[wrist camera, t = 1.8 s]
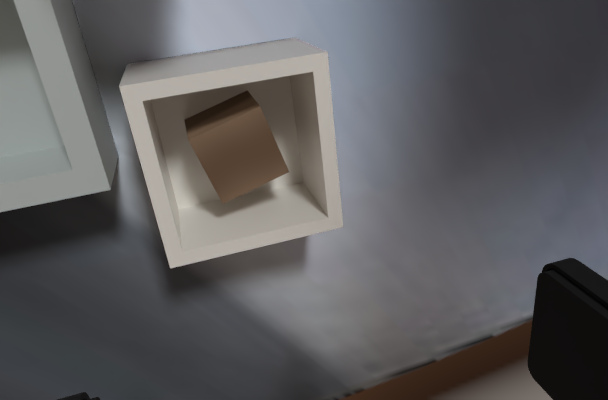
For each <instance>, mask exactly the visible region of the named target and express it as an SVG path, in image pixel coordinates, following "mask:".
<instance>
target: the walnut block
mask: <svg viewBox="0 0 608 400" xmlns="http://www.w3.org/2000/svg"><path fill="white" fill-rule="evenodd" d="M184 121H185V126H186V132H187V137H188V141H189V143H190V145H191V146H192V148H193V150H194V152H195V154H196V156H197V157H198V159H199V161H200V163H201V165H202V167H203V169H204V170H205V172H206V174H207V176H208V178H209V180H210V181H211V183H212V185H213V187H214V189H215V191H216V192H217V194H218V196H219V198H220V200H221V202H222V203H223V204H224V203H226V202H228V201H230V200H232V199H234V198H236V197H239V196H241V195H243V194H245V193H247V192H249V191H251V190H253V189H255V188H257V187H259V186H261V185H263V184H265V183H268V182H270V181H272V180H274V179H276V178H278V177H280V176H282V175H284V174H286V173H288V172H289V170H288V168H287V165H286V163H285V161H284V159H283V156H282V154H281V152H280V150H279V148H278V145H277V143H276V141H275V139H274V136H273V134H272V132H271V130H270V127H269V125H268V123H267V121H266V118H265V116H264V114H263V112H262V109H261V107H260V106H259V104H258V103H257V102H256V100H255V99H254V98H253V97H252V95H251V94H250V93H249V92H248V90H247V91H245V92H243V93H240V94H238V95H236V96H234V97H232V98H230V99H228V100H225V101H223V102H221V103H219V104H217V105H215V106H213V107H210V108H208V109H206V110H204V111H202V112H200V113H198V114H195V115H193V116H191V117H189V118H187V119H185V120H184Z"/></svg>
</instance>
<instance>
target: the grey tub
mask: <svg viewBox="0 0 608 400" xmlns="http://www.w3.org/2000/svg"><path fill="white" fill-rule="evenodd" d="M117 160H118V153H117V149H116V146H115V143H114V139H113V136H112V133H111V129H110V126H109V123H108V119H107V116H106V113H105V110H104V106H103V103H102V100H101V96H100V93H99V90H98V86H97V83H96V80H95V76H94V73H93V70H92V66H91V63H90V60H89V56H88V53H87V50H86V46H85V43H84V40H83V36H82V33H81V30H80V26H79V23H78V20H77V16H76V13H75V10H74V6H73V3H72V0H0V212H4V211H9V210H14V209H19V208H24V207H29V206H34V205H39V204H44V203H48V202H53V201H58V200H63V199H68V198H73V197H78V196H83V195H88V194H93V193H98V192H102V191H107V190H111V187H112V182H113V178H114V173H115V169H116V164H117Z"/></svg>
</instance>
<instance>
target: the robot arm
mask: <svg viewBox="0 0 608 400" xmlns="http://www.w3.org/2000/svg"><path fill="white" fill-rule="evenodd" d="M528 368H529V371H530V373H531V375H532V377H533V378H534V380H535V381H536V382H537V383H538V384H539V385H540V386H541V387H542V388H543V389H544V390H545V391H546V392H547V394H548V395H549V396H550V397H551V398H552V399H553V400H608V280H606V279H605V278H603V277H602V276H600V275H599V274H597V273H596V272H594V271H593V270H591V269H590V268H588V267H587V266H585V265H584V264H582V263H581V262H579V261H578V260H576V259H574V258H568V259H564V260H561V261H557V262H553V263H550V264H547V265H545V266H544V267H543V270H542V273H540V274H539V275H538V279H537V288H536V296H535V305H534V313H533V322H532V331H531V339H530V347H529V356H528ZM58 400H100V398H99V397H95V398H92V399H90V398H89V396H88V394H87V393H86V392H83V393H79V394H76V395H72V396H69V397H65V398H61V399H58Z"/></svg>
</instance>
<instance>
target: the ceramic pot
mask: <svg viewBox="0 0 608 400" xmlns="http://www.w3.org/2000/svg"><path fill="white" fill-rule="evenodd" d="M119 88H120V92H121V95H122V99H123V102H124V106H125V110H126V113H127V117H128V120H129V124H130V127H131V131H132V134H133V138H134V142H135V145H136V149H137V152H138V156H139V159H140V163H141V166H142V170H143V174H144V177H145V181H146V184H147V188H148V191H149V195H150V198H151V202H152V206H153V209H154V213H155V216H156V220H157V223H158V227H159V230H160V234H161V238H162V241H163V245H164V248H165V252H166V255H167V259H168V262H169V266H170V268H175V267H179V266H183V265H187V264H191V263H196V262H200V261H204V260H208V259H212V258H217V257H221V256H225V255H229V254H233V253H238V252H242V251H246V250H250V249H254V248H259V247H263V246H267V245H271V244H275V243H280V242H284V241H288V240H292V239H296V238H300V237H305V236H309V235H313V234H317V233H321V232H326V231H330V230H334V229H338V228H342V227H343V219H342V208H341V197H340V186H339V175H338V164H337V152H336V141H335V130H334V119H333V108H332V97H331V86H330V74H329V63H328V52H327V51H324V50H322V49H320V48H318V47H315V46H313V45H311V44H308V43H306V42H304V41H302V40H299V39H297V38H289V39H282V40H276V41H270V42H263V43H257V44H251V45H244V46H238V47H232V48H225V49H219V50H213V51H206V52H200V53H194V54H187V55H181V56H175V57H168V58H162V59H156V60H149V61H143V62H137V63H130V64H127V66H126V68H125V71H124V74H123V77H122V79H121V82H120V85H119ZM247 90H248V92H249V93H250V94H251V95H252V97H253V98H254V99H255V100H256V102H257V103H258V104H259V106H260V107H261V109H262V112H263V114H264V116H265V118H266V121H267V123H268V125H269V127H270V130H271V132H272V134H273V136H274V139H275V141H276V143H277V145H278V148H279V150H280V152H281V154H282V156H283V159H284V161H285V163H286V165H287V168H288V170H289V172H288V173H286V174H284V175H282V176H280V177H278V178H276V179H274V180H272V181H270V182H268V183H265V184H263V185H261V186H259V187H257V188H255V189H253V190H251V191H249V192H247V193H245V194H243V195H241V196H239V197H236V198H234V199H232V200H230V201H228V202H226V203H224V204H223V203H222V202H221V200H220V198H219V196H218V194H217V192H216V191H215V189H214V187H213V185H212V183H211V181H210V180H209V178H208V176H207V174H206V172H205V170H204V169H203V167H202V165H201V163H200V161H199V159H198V157H197V156H196V154H195V152H194V150H193V148H192V146H191V145H190V143H189V141H188V137H187V132H186V126H185V121H184V120H185V119H187V118H189V117H191V116H193V115H195V114H198V113H200V112H202V111H204V110H206V109H208V108H210V107H213V106H215V105H217V104H219V103H221V102H223V101H225V100H228V99H230V98H232V97H234V96H236V95H238V94H240V93H243V92H245V91H247Z"/></svg>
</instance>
